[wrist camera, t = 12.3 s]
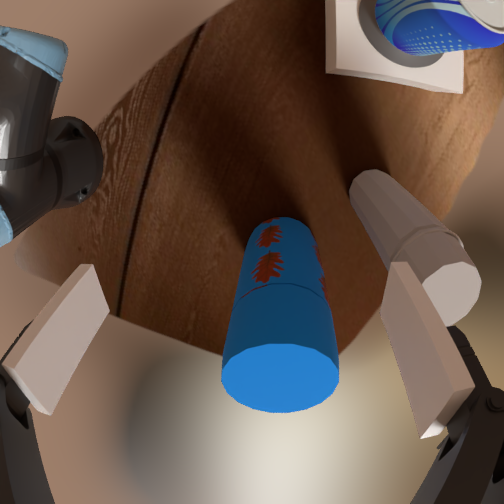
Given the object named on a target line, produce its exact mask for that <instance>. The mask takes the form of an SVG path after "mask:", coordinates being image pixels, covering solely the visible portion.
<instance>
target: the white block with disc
mask: <svg viewBox="0 0 504 504" xmlns="http://www.w3.org/2000/svg"><path fill="white" fill-rule="evenodd" d="M376 2H377V0H325V16H326V73H329V74H339V75H348V76H356V77H363V78H370V79H376V80H382V81H388V82H393V83H399V84H404V85H408V86H413V87H418V88H422V89H426V90H430V91H436V92H449V93H459V94H463V50H460V51H452V52H445V53H439V54H433V55H427V56H415V55H410V54H407V53H405V52H403V51H401V50H399V49H398V48H396V47H395V46H393V45H392V44H391V43H390V42H389V41H388V40H387V39H386V38H385V36H384V35H383V34H382V32H381V31H380V29H379V27H378V24H377V21H376V17H375V6H376Z"/></svg>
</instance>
